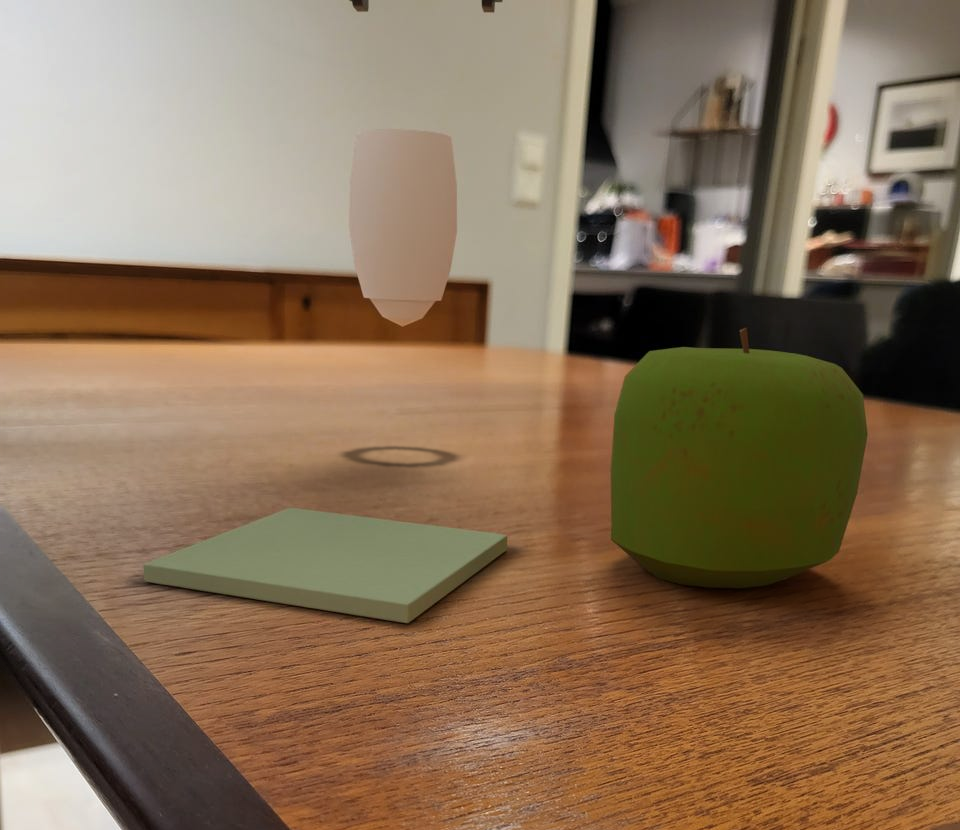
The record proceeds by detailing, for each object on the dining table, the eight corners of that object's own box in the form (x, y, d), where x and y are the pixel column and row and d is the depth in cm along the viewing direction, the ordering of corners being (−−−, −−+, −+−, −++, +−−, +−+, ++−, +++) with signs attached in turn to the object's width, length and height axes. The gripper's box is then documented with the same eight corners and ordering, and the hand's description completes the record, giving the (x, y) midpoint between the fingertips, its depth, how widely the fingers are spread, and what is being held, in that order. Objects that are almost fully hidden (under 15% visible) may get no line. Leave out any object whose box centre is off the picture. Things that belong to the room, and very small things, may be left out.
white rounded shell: (355, 465, 68) (353, 124, 61) (346, 447, 74) (343, 138, 67) (459, 465, 69) (470, 132, 62) (442, 447, 76) (449, 145, 69)
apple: (810, 627, 39) (857, 340, 36) (562, 579, 44) (580, 322, 40) (860, 565, 49) (901, 331, 45) (649, 531, 53) (671, 317, 50)
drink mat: (143, 582, 42) (142, 563, 41) (289, 522, 52) (289, 507, 52) (408, 624, 38) (408, 604, 38) (507, 550, 49) (508, 534, 48)
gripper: (545, -270, 63) (533, 24, 69) (325, -267, 65) (330, 22, 70) (541, -337, 56) (528, -4, 62) (294, -333, 58) (303, -6, 63)
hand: (423, 9), depth 66 cm, fingers open, 8 cm apart
